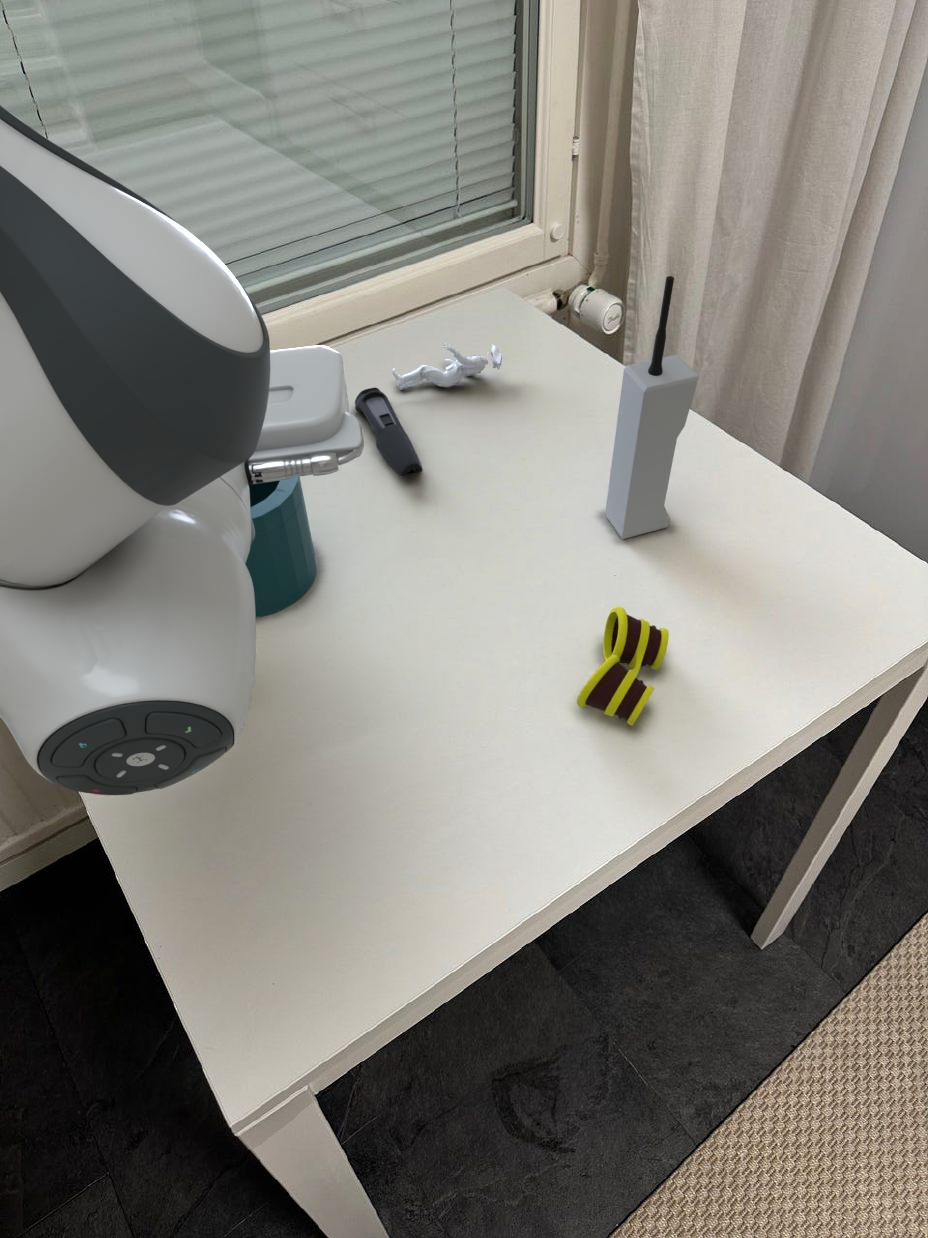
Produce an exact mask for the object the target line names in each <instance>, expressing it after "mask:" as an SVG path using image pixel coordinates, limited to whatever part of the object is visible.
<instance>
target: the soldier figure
mask: <svg viewBox="0 0 928 1238" xmlns="http://www.w3.org/2000/svg"><path fill="white" fill-rule="evenodd" d="M442 346H443V347H442V348H444V349H446V351H449V352H451V353H452V354H453V358H454V359H456V360H452V359H450V358H449V359H448V358H447V359H444V362H445V363H449V364H450V365H447V366H445V367H444V369H445V370H444V371H442V370H441V369H439V368H437V367H433V366H431V365H425V364H421V365H420V366H419V367H418V368H416V369H415V370H412V371H411V372H409V373H405V374H402V375H401V374H399V373H398V372H397V369H396V368H392V376H393V378H394V380H395V381H396V383H397V385H398V387H399V390H400V391H402V390H404V389H406V388H407V387H409V386H412V385H415V384H416V385H417V383H419V382H422V381H423V380H426V381H427V382H429V383H431V384H434V385H436V386H437V387H441V388H452V387H453V386H455V385H457V384H458V383H459V382H461V381H462V380H463V379H464V378H465V377H467V378H468V377H470V376H475V375H479V374H481V373H482V372H483V370H484V369H485V368H486V365H488V364H489V365H490V366H491V367H492V369H497V370H500V368H501V366H502V361H503V357H502V353H501V351H500V350H499V348H498V347H497V346H496V345H495V344H494V343H492V345H491V351H488V352H486V355H489V354H490V356H491V358H490V359H488V358H486V357H484V356H483V355H482V354H478V355H477V354H474V355H473V354H472V355H470V356H468V357H466V356H464V355H462V354H461V353H460V352H459V351H458V350H456V349H455V348H454V347H453V346H452V345H450V344H449V343H446V342H445V343H442ZM490 361H491V363H489V362H490Z"/></svg>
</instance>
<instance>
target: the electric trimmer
mask: <svg viewBox="0 0 928 1238" xmlns="http://www.w3.org/2000/svg"><path fill="white" fill-rule="evenodd" d="M354 409H355V411H356V412H357V413H363V415H364V416H365V418H366V420H367V422H368V423H369V425H370V427H371V430H372V431H373V434H374V437H375V444H376V448H377V450H378V451H379V452H380V454H381V456H383V458H384V459H385V460H386V462H388V464H389V465H390V466H391V467H392V468H393V470H394V471H395V472H396V474H397V475H398V476H399V477H400V478H406V477H410V476H414V475H417V474H421V473H422V472H423V466H422V463H421V461H420V458H419V457H418V454H417V452H416V450H415V448H414V445H413V443H412V441H411V439H410V437H409V436H408V434H407V432H406V431H405V429H404V427H403V426H402V423H401V422H400V420H399V417H398V416H397V414H396V412H395V410H394V408H393V406H392V404H391V402H390V400H389V397H388V396H387V395H386V394H385V393H384V392H383V391H381V390H380V388H378V387H370V388H365V389H363V390H361V391H360V392H359V393H358V395H357V396H356V398H355V400H354Z"/></svg>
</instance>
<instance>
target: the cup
mask: <svg viewBox="0 0 928 1238" xmlns="http://www.w3.org/2000/svg"><path fill="white" fill-rule="evenodd" d="M249 492H250V509H251V516H252V520H253V524H254V528H255V537H254V540H253V542H252V544H251V546H250V551H249V554H248V557H247V560H246V563H245V565H246V567H247V569H248V571H249V573H250V576H251V579H252V583H253V587H254V595H255V615H256V618H260V617H266V616H269V615H273V614H275V613H279V612H281V611H284V610H285V609H287V608H289V607H290V606H292V605H295V603H297V602H299V600H300V599H302V598H303V597H304V596H305V595H306V593H308V591H309V590H310V588H311V587H312V585H313V583H314V581H315V579H316V576H317V575H316V574H317V563H316V557H315V556H316V555H315V554H316V553H315V548H314V544H313V543H314V542H313V539H312V534H311V528H310V523H309V517H308V512H307V507H306V502H305V497H304V492H303V486H302V481H301V476H299V477H292V478H290V479H288V478H287V479H286V480H281V481H274V482H266V483H258V484H251V486H249Z"/></svg>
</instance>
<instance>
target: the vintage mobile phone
mask: <svg viewBox="0 0 928 1238" xmlns="http://www.w3.org/2000/svg"><path fill="white" fill-rule="evenodd" d="M674 282H675V277H674V276H672V275H668V276H666V277H665V282H664V283H665V284H664V289H663V296H662V302H661V308H660V314H659V315H660V316H659V320H658V321H659V322H658V328H657V331H656V333H655V337H654V344H653V349H652V350H653V351H652V356H651V359H649V360H646V361H642V362H638V363H633V364H628V365H626V366H625V367H624V368H623V373H622V380H621V387H620V388H621V390H620V396H619V403H618V404H619V405H618V411H617V412H618V413H617V420H616V428H615V436H614V442H613V449H612V451H613V452H612V458H611V466H610V472H609V473H610V474H609V482H608V487H607V488H608V489H607V496H606V504H605V512H604V515H605V517H606V518H607V520H608V521H609V522H610V524H611V526H612V527H613V528H614V529H615V531H616V532H617V533H618V535H619V536H620V538H621V539H622V540H625V539H629V538H632V537H633V538H634V537H636V536H639V535H640V536H641V535H644V534H648V533H651V532H654V531H658V530H663V529H666V528H668V527H669V526H670V521H671V518H670V515H669V513H668V511H667V509H666V505H665V503H666V499H667V494H668V493H667V492H668V488H669V482H670V477H671V472H672V467H673V462H674V456H675V450H676V445H677V440H678V437H679V436H680V434H681V433H682V431H683V430H684V428H685V426H686V423H687V420H688V416H689V412H690V409H691V406H692V402H693V398H694V395H695V391H696V388H697V385H698V382H699V375H698V374H697V372H695V371H694V370H693V368H691V366H690V365H689V364H688V363H686V361H685V360H684V359H683V358H682V357H681V356H680V355H679V354H674V355H673V354H672V355H669V356H665V357H664V352H665V347H666V340H667V324H668V319H669V313H670V306H671V300H672V294H673V290H674V289H673V288H674Z"/></svg>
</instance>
